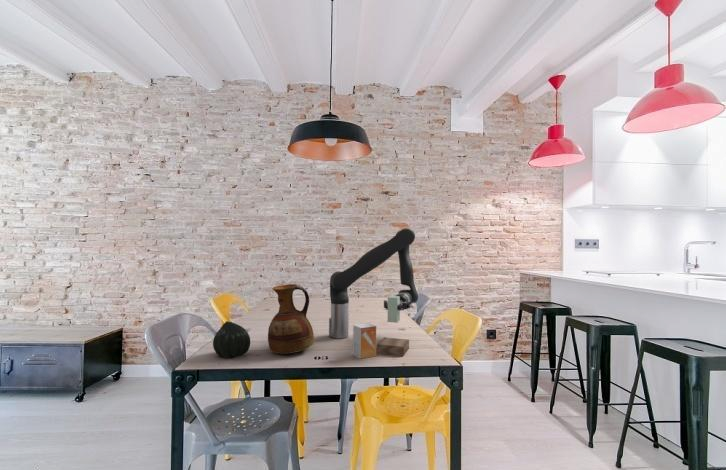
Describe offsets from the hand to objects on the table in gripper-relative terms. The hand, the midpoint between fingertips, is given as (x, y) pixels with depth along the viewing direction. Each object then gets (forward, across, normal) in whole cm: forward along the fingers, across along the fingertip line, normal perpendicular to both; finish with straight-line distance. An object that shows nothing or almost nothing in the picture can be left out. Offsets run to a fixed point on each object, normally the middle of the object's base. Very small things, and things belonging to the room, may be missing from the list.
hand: (392, 307), depth 164 cm
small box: (+9, -10, +20) cm, 24 cm away
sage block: (-2, 0, +6) cm, 7 cm away
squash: (+28, -64, +19) cm, 73 cm away
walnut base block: (-2, 0, +20) cm, 20 cm away
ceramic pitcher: (+14, -43, +20) cm, 49 cm away
